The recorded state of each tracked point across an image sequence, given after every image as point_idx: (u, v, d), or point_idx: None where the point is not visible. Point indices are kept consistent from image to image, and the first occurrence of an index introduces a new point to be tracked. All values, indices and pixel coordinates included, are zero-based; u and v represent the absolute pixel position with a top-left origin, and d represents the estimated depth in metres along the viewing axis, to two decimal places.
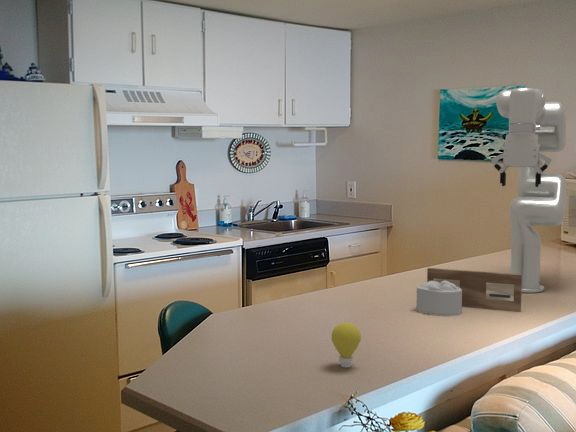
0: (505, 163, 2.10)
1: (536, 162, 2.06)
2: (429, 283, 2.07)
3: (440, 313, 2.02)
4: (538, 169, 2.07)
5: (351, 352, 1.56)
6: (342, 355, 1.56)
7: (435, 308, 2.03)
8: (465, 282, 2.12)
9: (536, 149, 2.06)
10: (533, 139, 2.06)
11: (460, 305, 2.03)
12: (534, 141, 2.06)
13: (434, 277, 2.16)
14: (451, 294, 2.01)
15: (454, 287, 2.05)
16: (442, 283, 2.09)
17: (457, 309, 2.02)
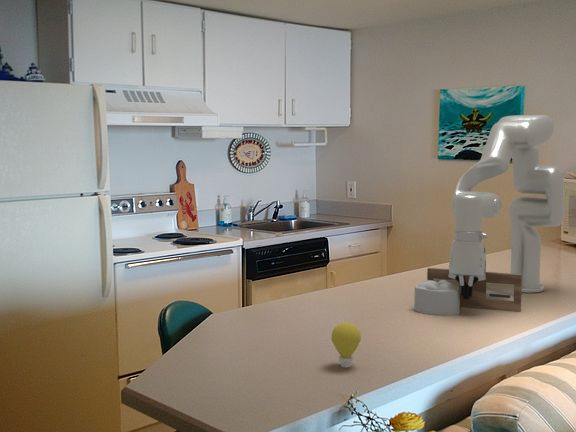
0: (451, 271, 2.02)
1: (482, 272, 1.98)
2: (427, 283, 2.07)
3: (438, 313, 2.03)
4: (471, 282, 2.01)
5: (351, 352, 1.56)
6: (342, 355, 1.56)
7: (433, 307, 2.03)
8: None
9: (482, 258, 1.98)
10: (479, 248, 1.98)
11: (458, 305, 2.03)
12: (480, 250, 1.98)
13: (434, 277, 2.16)
14: (449, 293, 2.02)
15: (452, 287, 2.05)
16: (440, 283, 2.09)
17: (455, 309, 2.03)
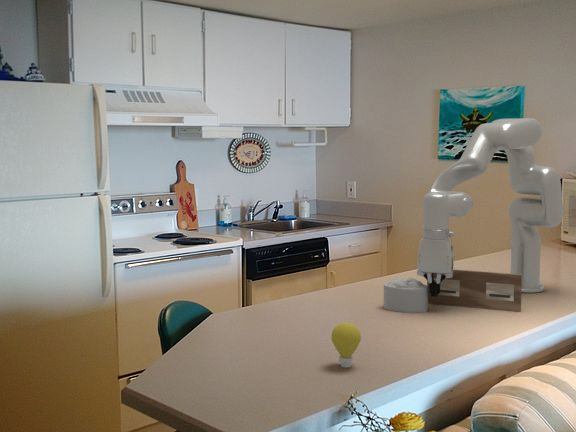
0: (419, 268, 2.06)
1: (449, 269, 2.02)
2: (396, 281, 2.10)
3: (407, 310, 2.06)
4: (438, 279, 2.04)
5: (351, 352, 1.56)
6: (342, 355, 1.56)
7: (403, 305, 2.06)
8: (465, 282, 2.12)
9: (449, 256, 2.02)
10: (446, 246, 2.02)
11: (426, 302, 2.07)
12: (447, 248, 2.02)
13: (434, 277, 2.16)
14: (418, 291, 2.05)
15: (420, 284, 2.08)
16: (408, 280, 2.13)
17: (423, 306, 2.06)
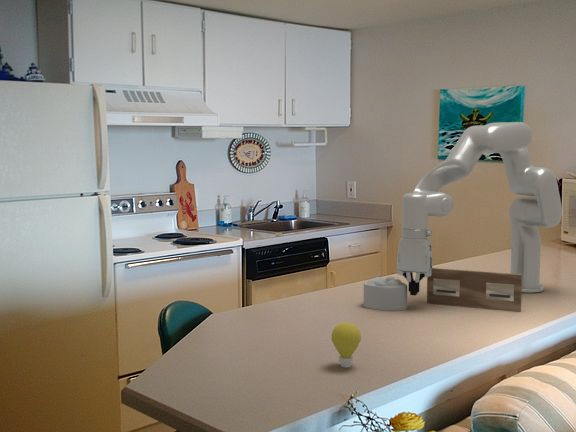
0: (398, 267, 2.08)
1: (428, 268, 2.05)
2: (375, 279, 2.13)
3: (387, 308, 2.08)
4: (417, 278, 2.07)
5: (351, 352, 1.56)
6: (342, 355, 1.56)
7: (382, 303, 2.09)
8: (465, 282, 2.12)
9: (427, 255, 2.04)
10: (424, 245, 2.04)
11: (406, 300, 2.10)
12: (425, 247, 2.04)
13: (434, 277, 2.16)
14: (397, 289, 2.08)
15: (399, 283, 2.11)
16: (388, 279, 2.15)
17: (403, 304, 2.09)
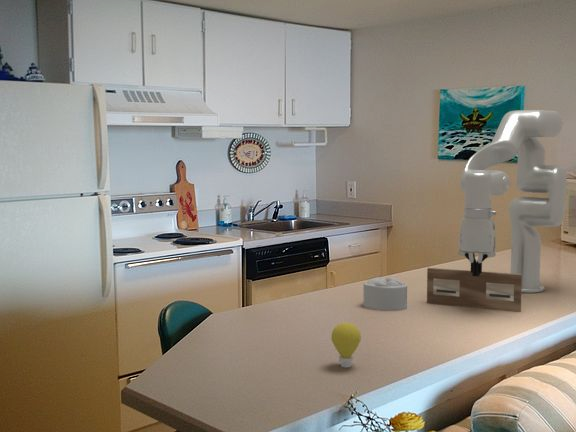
0: (460, 248, 2.04)
1: (491, 248, 2.01)
2: (375, 279, 2.13)
3: (387, 308, 2.08)
4: (480, 259, 2.03)
5: (351, 352, 1.56)
6: (342, 355, 1.56)
7: (382, 303, 2.09)
8: (465, 282, 2.12)
9: (491, 235, 2.00)
10: (488, 225, 2.00)
11: (406, 300, 2.10)
12: (489, 227, 2.00)
13: (434, 277, 2.16)
14: (397, 289, 2.08)
15: (399, 283, 2.11)
16: (387, 279, 2.15)
17: (403, 304, 2.09)
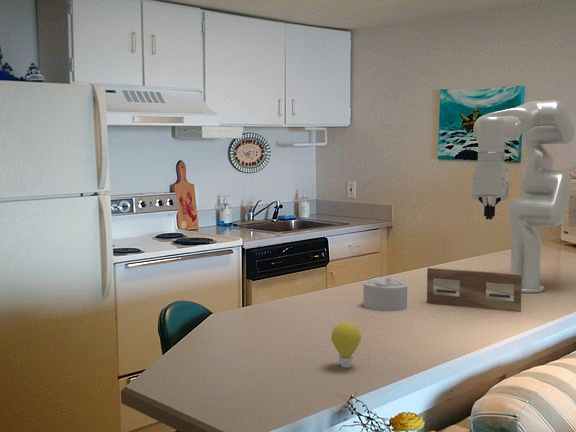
0: (474, 192, 2.09)
1: (505, 191, 2.05)
2: (375, 279, 2.13)
3: (387, 308, 2.08)
4: (494, 202, 2.07)
5: (351, 352, 1.56)
6: (342, 355, 1.56)
7: (382, 303, 2.09)
8: (465, 282, 2.12)
9: (505, 178, 2.05)
10: (502, 168, 2.05)
11: (406, 300, 2.10)
12: (503, 170, 2.05)
13: (434, 277, 2.16)
14: (397, 289, 2.08)
15: (399, 283, 2.11)
16: (387, 279, 2.15)
17: (403, 304, 2.09)
